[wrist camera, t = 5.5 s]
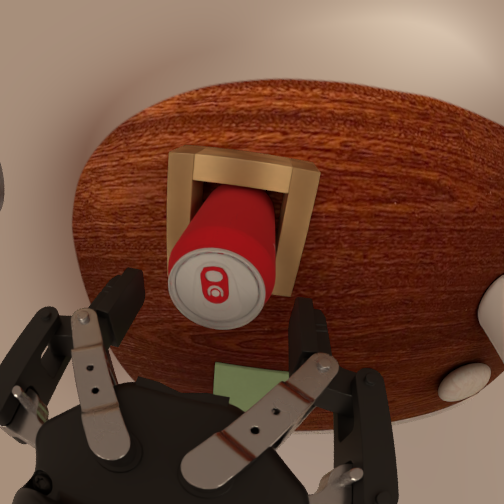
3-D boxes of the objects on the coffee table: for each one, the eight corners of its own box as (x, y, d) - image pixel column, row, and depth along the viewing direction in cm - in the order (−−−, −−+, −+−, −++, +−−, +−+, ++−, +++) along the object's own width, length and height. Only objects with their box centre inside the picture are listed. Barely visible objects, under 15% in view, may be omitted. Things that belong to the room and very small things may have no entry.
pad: (212, 404, 41) (212, 406, 41) (215, 361, 35) (215, 363, 35) (304, 414, 41) (304, 416, 41) (329, 374, 35) (329, 376, 35)
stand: (180, 255, 27) (167, 277, 24) (184, 144, 22) (168, 151, 18) (288, 272, 27) (290, 297, 24) (313, 162, 22) (320, 172, 18)
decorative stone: (492, 354, 33) (502, 373, 29) (466, 384, 38) (473, 402, 33) (455, 355, 33) (465, 378, 29) (426, 388, 37) (433, 409, 33)
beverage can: (208, 241, 26) (169, 331, 16) (204, 178, 23) (147, 239, 13) (274, 243, 26) (272, 339, 15) (276, 178, 23) (278, 242, 12)
